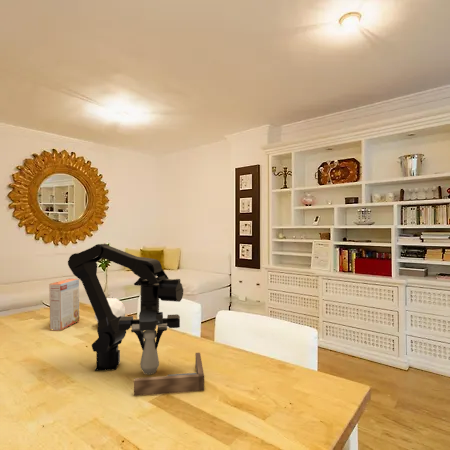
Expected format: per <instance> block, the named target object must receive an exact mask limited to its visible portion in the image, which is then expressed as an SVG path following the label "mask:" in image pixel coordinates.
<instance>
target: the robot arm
mask: <svg viewBox="0 0 450 450" xmlns="http://www.w3.org/2000/svg"><path fill="white" fill-rule="evenodd" d="M102 259H104V260H107V261H110V262H111V263H114V264H117V265H120V266H121V267H125V268H127V269H129V270H130V271H132V273H133V274H134V275H136V276H137V277H138V279H137V280H136V281H135V282H134V283H133V285H134V286H136V287H137V286H138V287H139V286H140V304H139V305H140V312H139V314H138V317H139V318H138V319H137V318H136V319H134V316H126V315H125V317H121V316H120V317H116V316H115V315H114V314H113V313H112V310H111V308H110V306H109V303H108V301H107V299H106V297H107V296H106V294H105V292H104V289H103V287H102V284H101V283H100V280H99V277H98V275H97V271H98V263H97V262H99V261H101V260H102ZM67 265H68V268H69V270H70V271H71V273H72V274H73V275H74V277H76V279H79V281H80V282H81V283H82V285H83V288H84V290H85V292H86V294H87V295H86V296H87V298H88V300H89V303H90V305H91V307H92V309H93V312H94V316H95V315H96V317H97V319H98V322H97V329H96V331H97V339H96V340H95V341H94V342H93V343H92V344H91V348H92V352H94V353H96V356H95V357H96V360H95V361H96V365H95V366H96V367H95V368H94V371H95V372H99V371H114V370H117V368H118V366H119V365H120V363H121V350H120V349H119V345H121V344H122V342H123V339H125V337H126V334H127V331H129V330H130V328H131V330H130V332H131V333H135V335H136V336H137V338H138V341H139V343H140V347H141V349H142V351H143V350H144V341H145V339H144V338H143V332H144V331H145V330H156V329H157V330H156V332H157V336H156V338H155V342H156V344H155V349H156V350H157V351H158V347H159V343H160V339H161V337H162V335H163V333H164V332H166V331H167V330H168V328H169V329H177V328H178V329H179V328H180V327H181V323H180V322H181V319H180V318H181V316H180V314H167V317H164V314H163V311H160V300H161V301H162V302H178V303H179V302H182V299H183V296H184V288H183V284H182V283H181V278H175V279H172V278H171V279H170V278H169V277H168V275H167V273H166V272H165V271H164V269H163V268H162V264H161V262H160V260H158V259H156V258H150V257H142V256H136V255H134V254H132V253H129V252H126V251H123V250H122V249H118V248H116V247H113V246H111V245H109V244H107V243H98V244H95V245H94V246H92V247H89V248H87V249H85V250H83V251H80V252H76V253H72V254H71V255H70V256H69V257H68V260H67Z"/></svg>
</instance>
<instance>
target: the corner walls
mask: <svg viewBox="0 0 450 450" xmlns="http://www.w3.org/2000/svg"><path fill="white" fill-rule="evenodd" d="M195 373H196V374H191V375H176V376H167V375H166V376H165V375H163V376H162V375H161V376H149V377H136V378H134V379H133V396H134V397H135V396H136V397H137V396H149V395H150V396H151V395H162V394H163V395H164V394H173V393H174V394H176V393H188V392H189V393H190V392H201V391H202V392H203V391H205V373H204V367H203V360H202V356H201V352H195Z"/></svg>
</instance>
